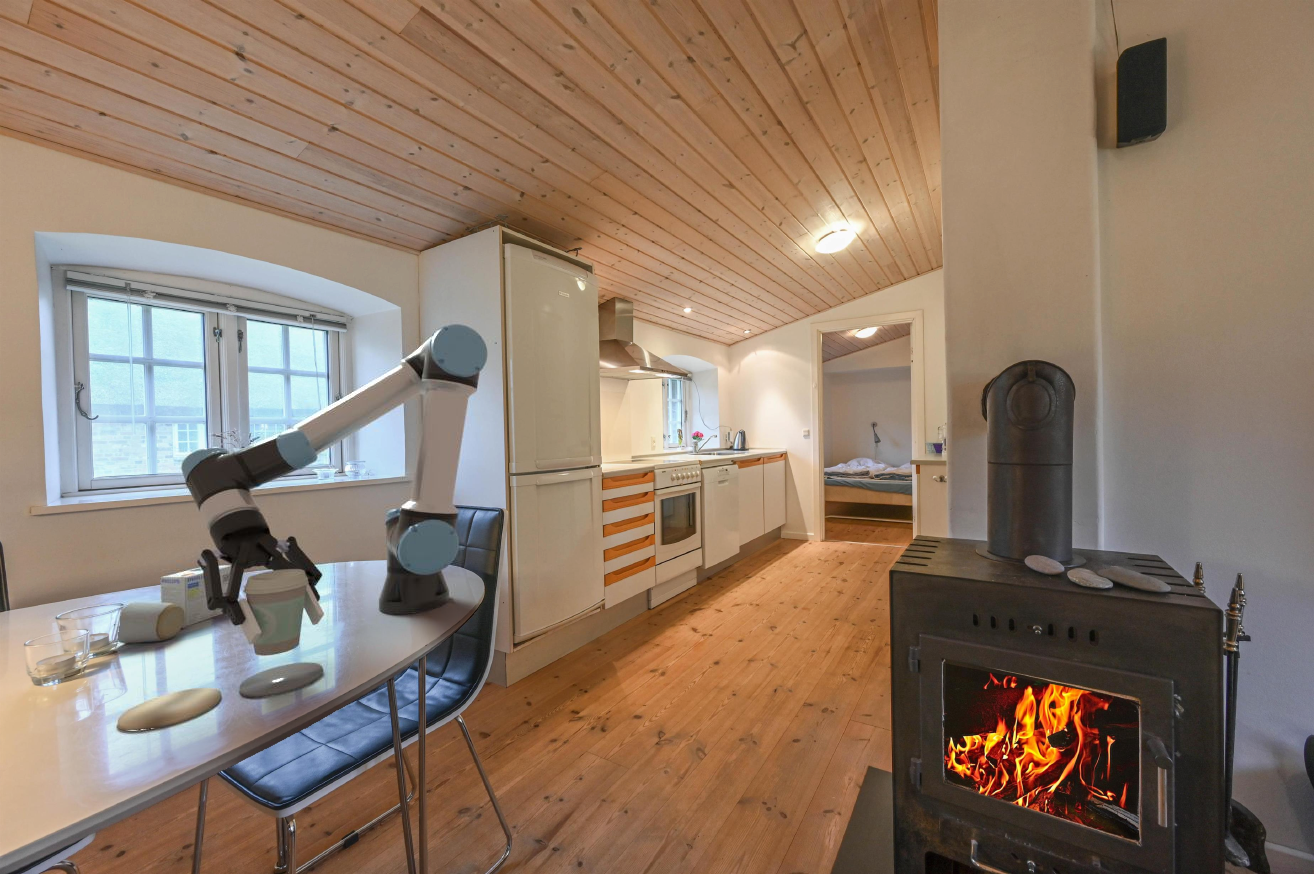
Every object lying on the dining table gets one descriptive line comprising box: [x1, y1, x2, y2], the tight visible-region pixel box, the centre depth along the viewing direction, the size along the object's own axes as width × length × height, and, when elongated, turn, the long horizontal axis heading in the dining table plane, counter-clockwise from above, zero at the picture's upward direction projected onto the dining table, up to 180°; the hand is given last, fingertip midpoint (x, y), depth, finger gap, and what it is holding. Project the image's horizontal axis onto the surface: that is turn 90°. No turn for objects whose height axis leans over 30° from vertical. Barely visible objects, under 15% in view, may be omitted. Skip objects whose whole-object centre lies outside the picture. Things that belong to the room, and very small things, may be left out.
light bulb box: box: [160, 564, 232, 628], centre depth 116 cm, size 11×7×11 cm, turn 172°
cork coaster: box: [117, 687, 222, 731], centre depth 75 cm, size 11×11×1 cm
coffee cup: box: [242, 569, 309, 657], centre depth 84 cm, size 8×8×12 cm
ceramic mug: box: [117, 601, 187, 644], centre depth 105 cm, size 11×8×8 cm
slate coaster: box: [238, 661, 324, 699], centre depth 84 cm, size 11×11×1 cm
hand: (288, 628), depth 82 cm, fingers closed on coffee cup, 8 cm apart
